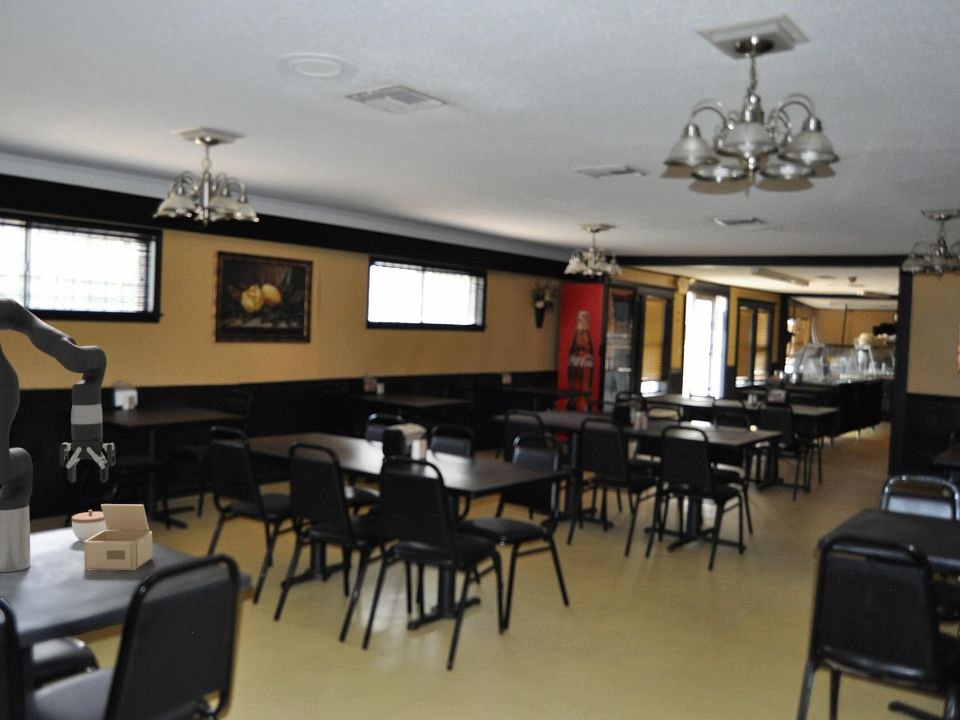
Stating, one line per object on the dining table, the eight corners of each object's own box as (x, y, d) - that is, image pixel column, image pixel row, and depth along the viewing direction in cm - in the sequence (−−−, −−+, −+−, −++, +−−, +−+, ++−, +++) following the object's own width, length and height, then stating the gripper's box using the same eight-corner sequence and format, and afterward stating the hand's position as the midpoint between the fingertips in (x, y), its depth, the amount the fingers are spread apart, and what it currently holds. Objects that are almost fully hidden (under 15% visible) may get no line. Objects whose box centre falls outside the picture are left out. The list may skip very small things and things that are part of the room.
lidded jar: (71, 537, 272) (70, 508, 271) (108, 534, 277) (107, 505, 276) (73, 546, 262) (72, 515, 262) (111, 541, 267) (110, 512, 267)
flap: (107, 530, 249) (100, 505, 245) (108, 529, 250) (101, 504, 246) (148, 530, 249) (142, 505, 245) (149, 529, 250) (143, 504, 245)
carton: (81, 570, 237) (81, 542, 237) (102, 557, 250) (102, 530, 249) (135, 571, 237) (135, 542, 237) (153, 558, 250) (153, 531, 249)
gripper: (119, 419, 233) (120, 479, 234) (67, 419, 233) (68, 479, 234) (107, 423, 225) (108, 485, 226) (53, 422, 225) (54, 484, 226)
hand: (88, 481), depth 230 cm, fingers open, 7 cm apart
